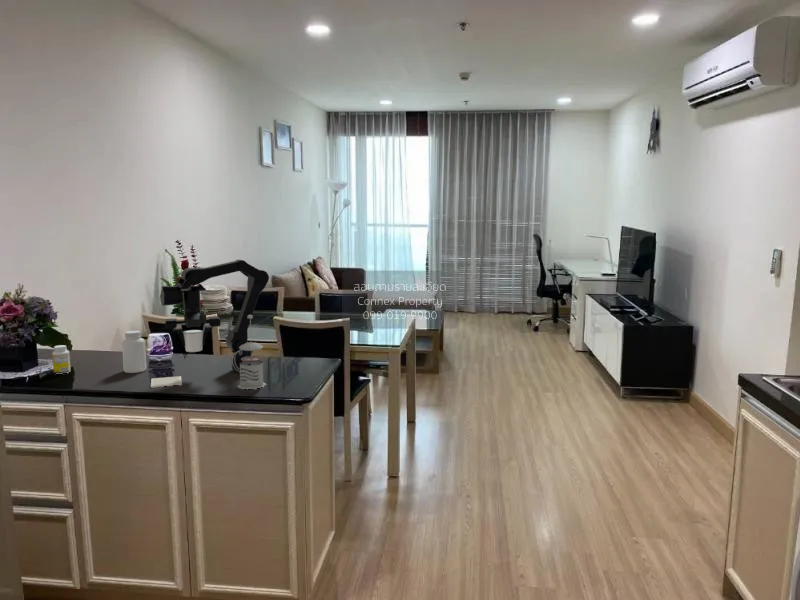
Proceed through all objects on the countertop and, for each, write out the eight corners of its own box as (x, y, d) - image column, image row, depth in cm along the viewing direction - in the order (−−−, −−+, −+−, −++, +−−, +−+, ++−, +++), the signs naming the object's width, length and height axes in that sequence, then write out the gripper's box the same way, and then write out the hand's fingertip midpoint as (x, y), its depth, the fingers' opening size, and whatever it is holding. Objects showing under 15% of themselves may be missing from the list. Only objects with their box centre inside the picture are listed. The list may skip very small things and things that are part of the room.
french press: (259, 390, 205) (257, 317, 201) (227, 388, 207) (225, 316, 203) (270, 382, 214) (269, 313, 211) (240, 380, 216) (238, 311, 213)
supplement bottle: (59, 371, 227) (57, 344, 226) (73, 371, 227) (72, 344, 225) (50, 374, 222) (48, 347, 220) (64, 375, 221) (62, 348, 220)
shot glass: (208, 349, 221) (207, 330, 220) (194, 353, 215) (193, 333, 214) (193, 347, 224) (192, 328, 223) (179, 351, 218) (178, 332, 217)
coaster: (181, 377, 219) (181, 375, 219) (181, 385, 210) (181, 383, 210) (151, 380, 216) (151, 378, 216) (150, 387, 207) (150, 385, 206)
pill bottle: (118, 372, 226) (116, 332, 224) (135, 367, 234) (133, 329, 231) (134, 374, 223) (132, 334, 221) (151, 369, 231) (149, 330, 228)
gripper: (164, 308, 206) (166, 352, 209) (221, 305, 213) (222, 349, 215) (164, 303, 217) (166, 346, 219) (218, 301, 223) (219, 342, 226)
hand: (193, 346), depth 219 cm, fingers closed on shot glass, 6 cm apart
